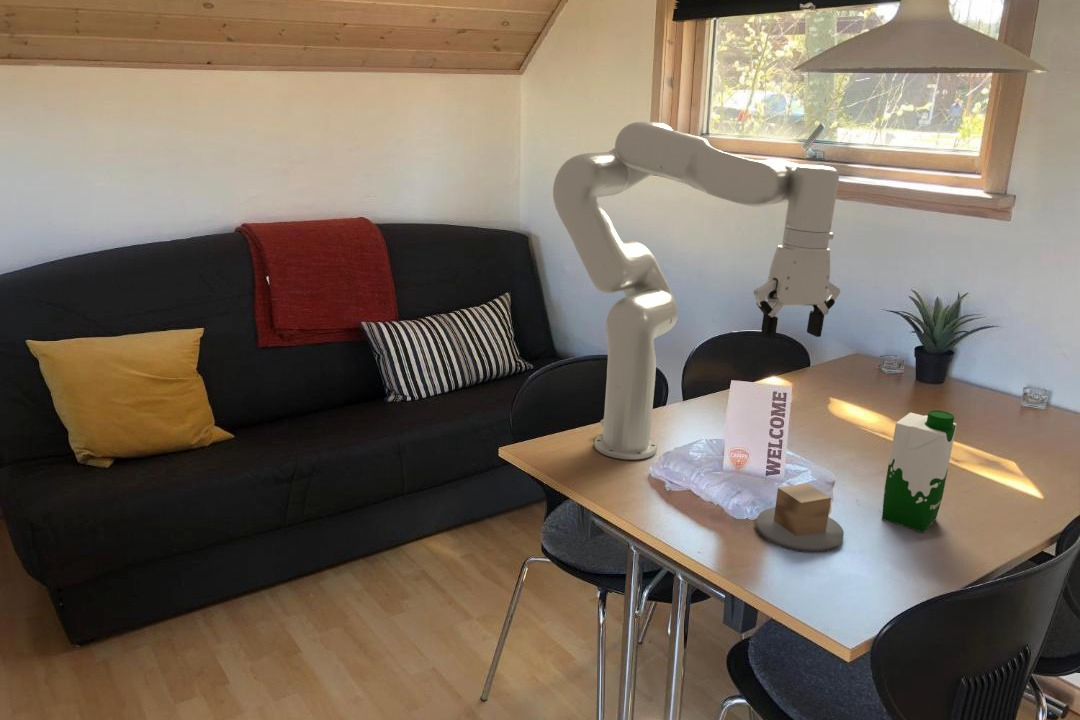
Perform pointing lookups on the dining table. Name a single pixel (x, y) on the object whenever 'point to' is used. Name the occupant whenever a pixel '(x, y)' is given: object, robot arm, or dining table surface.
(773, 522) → the slate plate
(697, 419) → the dining table surface
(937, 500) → the soya milk
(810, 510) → the walnut cube
